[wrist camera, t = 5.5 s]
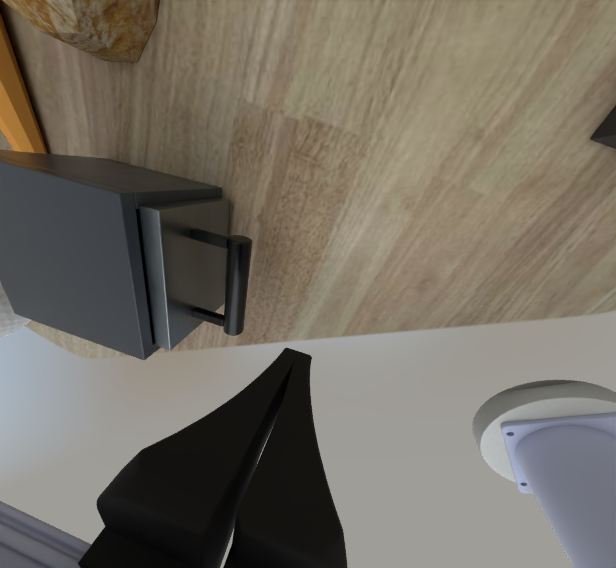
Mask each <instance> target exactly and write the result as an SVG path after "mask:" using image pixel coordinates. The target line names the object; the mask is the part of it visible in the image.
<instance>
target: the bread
mask: <svg viewBox="0 0 616 568" xmlns="http://www.w3.org/2000/svg"><path fill="white" fill-rule="evenodd" d="M2 1H4V2H5V3H6V4H7V5H9V6H10V7H11V8H12V9H14V10H15V11H16V12H17V13H19V14H20V15H21V16H22V17H24V18H25V19H26V20H27V21H29V22H30V23H31V24H32V25H34V26H35V27H36V28H37V29H39V30H40V31H41V32H43V33H45V34H48V35H50V36H52V37H54V38H56V39H58V40H61V41H63V42H65V43H67V44H69V45H72V46H74V47H76V48H78V49H80V50H83V51H85V52H87V53H89V54H91V55H93V56H96V57H98V58H100V59H102V60H106V61H123V62H137V61H138V59H139V57H140V55H141V52H142V50H143V48H144V46H145V44H146V42H147V40H148V38H149V36H150V33H151V31H152V29H153V27H154V25H155V23H156V19H157V12H158V5H159V0H2Z"/></svg>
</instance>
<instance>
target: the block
mask: <svg viewBox="0 0 616 568" xmlns="http://www.w3.org/2000/svg"><path fill="white" fill-rule="evenodd" d="M591 140H593V141H596V142H599V143H602V144H605V145H608V146H610V147H613V148H616V107H615V108H614V109H613V111H612V112H611V113H610V114H609V116H608V117H607V118H606V120H605V121H604V122H603V123H602V125H601V126H600V127H599V129H598V130H597V131H596V132H595V134H594V135H593V136H592V138H591Z"/></svg>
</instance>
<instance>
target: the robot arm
mask: <svg viewBox="0 0 616 568" xmlns="http://www.w3.org/2000/svg"><path fill="white" fill-rule="evenodd" d="M311 359H312V357H311V356H310V355H308V354H305V353H302V352H298V351H295V350H292V349H289V348H285V349H284V350H283V352H282V353H281V354H280V355H279V356H278V358H277V359H276V360H275V361H274V362H273V363H272V364H271V365H270V366H269V367H268V368H267V369H266V370H265V371H264V372H263V373H262V374H261V375H260V376H259V377H257V378H256V379H255V380H254V381H253V382H252V383H251V384H249V385H248V386H247V387H246V388H245V389H244V390H242V391H241V392H240V393H238V394H237V395H236V396H234V397H233V398H232V399H230V400H229V401H227V402H226V403H225V404H223V405H222V406H220V407H219V408H217V409H216V410H214V411H213V412H211V413H209V414H208V415H206V416H205V417H203V418H202V419H200V420H198V421H196V422H194V423H193V424H191V425H189V426H187V427H186V428H184V429H182V430H181V431H179V432H177V433H175V434H173V435H171V436H169V437H167V438H165V439H163V440H161V441H159V442H157V443H155V444H153V445H151V446H149V447H146V448H144V449H143V450H141V451H140V452H139V453H138V454H137V455H136V456H135V457H134V458H133V459H132V460H131V461H130V462H129V463H128V464H127V465H126V466H125V467H124V468H123V469H122V470H121V471H120V472H119V474H118V475H117V476H116V477H115V478H114V480H113V481H112V482H111V483H110V484H109V486H108V487H107V488H106V489H105V490H104V491H103V493H102V494H101V495H100V496H99V498H98V500H97V509H98V511H99V513H100V516H101V518H102V520H103V522H104V524H105V528H104V529H103V530H102V532H101V533H100V534H99V536H98V537H97V538H96V540H95V541H94V542H93V544H92V545H91V544H89V543H87V542H85V541H83V540H81V539H78V538H76V537H74V536H72V535H70V534H68V533H66V532H64V531H61V530H60V529H58V528H55V527H54V526H51V525H49V524H47V523H45V522H43V521H41V520H39V519H37V518H35V517H33V516H30V515H28V514H26V513H24V512H22V511H20V510H18V509H16V508H14V507H12V506H9V505H7V504H5V503H3V502H1V501H0V568H220V566H221V563H222V560H223V557H224V555H225V552H226V549H227V546H228V543H229V540H230V537H231V535H232V532H233V529H234V534H233V542H232V546H231V548H230V551H229V554H228V557H227V559H226V562H225V565H224V567H223V568H347V558H346V550H345V542H344V534H343V529H342V526H341V523H340V520H339V517H338V515H337V511H336V508H335V506H334V503H333V499H332V496H331V493H330V489H329V486H328V483H327V479H326V475H325V472H324V468H323V464H322V460H321V457H320V452H319V448H318V443H317V438H316V433H315V427H314V422H313V415H312V406H311V396H310V365H311ZM272 427H273V428H272ZM500 428H501V431H502V435H503V438H504V442H505V445H506V449H507V452H508V456H509V459H510V463H511V466H512V470H513V473H514V477H515V480H516V484H517V487H518V489H519V491H520V492H522V493H526V494H534V495H535V497H536V499H537V501H538V503H539V505H540V507H541V508H542V510H543V512H544V514H545V516H546V517H547V520H548V521H549V523H550V525H551V527H552V529H553V531H554V533H555V534H556V536H557V538H558V540H559V542H560V544H561V546H562V548H563V549H564V551H565V553H566V555H567V556H568V559H569V561H570V562H571V564H572V566H573V568H616V413H604V414H593V415H582V416H570V417H559V418H547V419H536V420H525V421H513V422H504V423H502V424H501V425H500ZM271 429H272V430H271ZM270 431H271V433H270ZM269 434H270V435H269ZM268 436H269V438H268ZM267 438H268V440H267ZM266 440H267V443H266V445H265V447H264V444H265V442H266ZM263 447H264V450H263V452H262V449H263ZM261 452H262V454H261ZM260 454H261V457H260V459H259V456H260ZM258 459H259V461H258ZM257 462H258V464H257ZM256 465H257V466H256ZM254 470H255V471H254ZM234 526H235V527H234Z"/></svg>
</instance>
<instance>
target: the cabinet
mask: <svg viewBox="0 0 616 568" xmlns="http://www.w3.org/2000/svg"><path fill="white" fill-rule="evenodd" d="M221 191H222V189H221V188H220V187H216V186H212V185H208V184H204V183H200V182H197V181H193V180H189V179H185V178H181V177H177V176H173V175H169V174H165V173H161V172H157V171H153V170H149V169H145V168H141V167H137V166H133V165H129V164H126V163H122V162H118V161H114V160H110V159H104V158H92V157H80V156H68V155H56V154H44V153H32V152H20V151H8V150H0V281H1V284H2V286H3V288H4V290H5V293H6V295H7V297H8V300H9V302H10V304H11V306H12V309H13V311H14V313H15V314H16V315H19V316H22V317H25V318H27V319H30V320H33V321H36V322H39V323H41V324H44V325H47V326H50V327H53V328H55V329H58V330H61V331H64V332H66V333H69V334H72V335H75V336H78V337H80V338H83V339H86V340H89V341H92V342H94V343H97V344H100V345H103V346H105V347H108V348H111V349H114V350H117V351H119V352H122V353H125V354H128V355H131V356H133V357H136V358H139V359H142V360H145V359H147V358H148V357H149V356H151V355H152V354H153V353H154V352H156V351H157V350H158V349H159V348H161V347H159V346H156V345H155V340H154V331H153V323H152V322H150V320H149V312H148V304H147V296H146V288H145V280H144V272H143V264H142V256H141V248H140V240H139V232H138V224H137V216H136V209H138V208H139V205H145V204H154V203H163V202H172V201H181V200H190V199H199V198H208V197H219V198H221Z"/></svg>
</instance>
